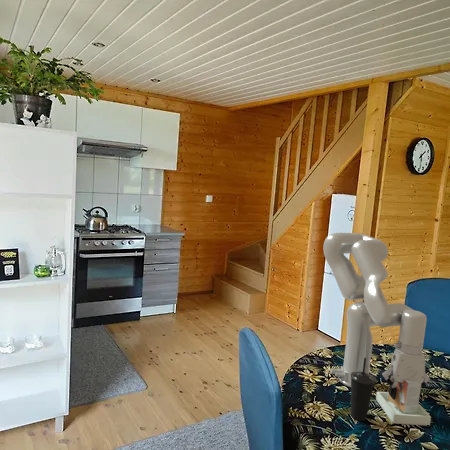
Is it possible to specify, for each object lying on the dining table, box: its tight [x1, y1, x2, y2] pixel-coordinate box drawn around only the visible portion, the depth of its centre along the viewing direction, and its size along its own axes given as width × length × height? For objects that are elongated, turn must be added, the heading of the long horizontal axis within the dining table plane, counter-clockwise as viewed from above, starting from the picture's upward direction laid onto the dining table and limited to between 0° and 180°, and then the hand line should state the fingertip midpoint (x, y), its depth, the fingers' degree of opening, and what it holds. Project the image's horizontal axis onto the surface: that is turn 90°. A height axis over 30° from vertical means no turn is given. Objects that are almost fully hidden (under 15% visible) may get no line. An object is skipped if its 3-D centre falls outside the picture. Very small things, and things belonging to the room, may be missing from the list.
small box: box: [388, 375, 422, 413], centre depth 134 cm, size 8×6×10 cm
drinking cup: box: [350, 358, 376, 422], centre depth 129 cm, size 8×8×20 cm
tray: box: [375, 391, 432, 427], centre depth 135 cm, size 12×14×3 cm
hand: (403, 397), depth 135 cm, fingers closed on small box, 6 cm apart
